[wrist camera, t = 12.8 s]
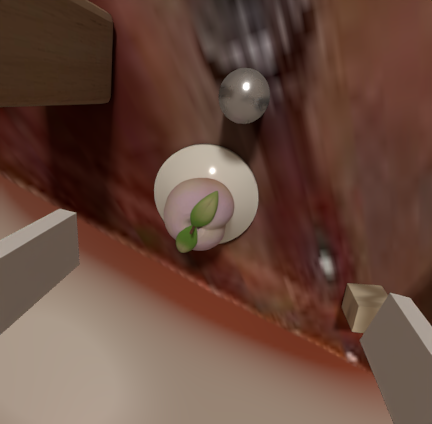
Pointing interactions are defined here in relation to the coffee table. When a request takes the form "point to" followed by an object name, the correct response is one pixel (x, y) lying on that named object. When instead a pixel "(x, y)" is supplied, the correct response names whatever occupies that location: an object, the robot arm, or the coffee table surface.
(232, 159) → the cream plate
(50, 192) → the coffee table surface
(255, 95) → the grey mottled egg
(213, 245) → the decorative fruit
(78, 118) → the coffee table surface
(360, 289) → the birch cube
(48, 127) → the coffee table surface
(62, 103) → the block
